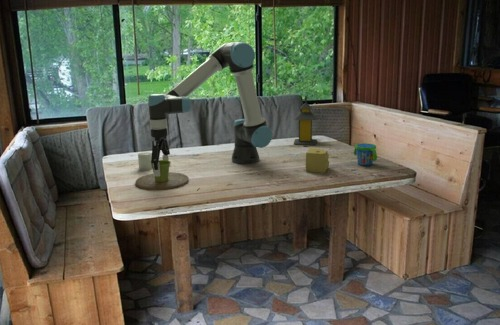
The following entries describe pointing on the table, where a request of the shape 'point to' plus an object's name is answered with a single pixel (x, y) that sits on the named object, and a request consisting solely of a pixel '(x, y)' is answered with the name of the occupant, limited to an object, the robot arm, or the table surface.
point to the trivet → (172, 182)
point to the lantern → (305, 125)
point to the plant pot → (162, 171)
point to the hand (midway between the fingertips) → (161, 172)
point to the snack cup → (365, 153)
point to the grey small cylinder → (144, 161)
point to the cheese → (317, 160)
